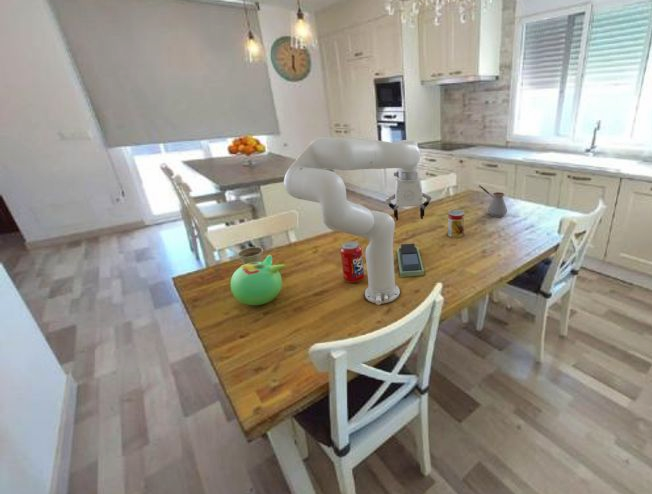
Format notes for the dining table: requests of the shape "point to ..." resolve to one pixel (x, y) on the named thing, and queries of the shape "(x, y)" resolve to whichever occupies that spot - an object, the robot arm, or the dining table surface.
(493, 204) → the coffee pot
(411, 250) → the pad charcoal
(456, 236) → the canned food
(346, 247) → the soda can
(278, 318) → the dining table surface
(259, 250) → the flower pot
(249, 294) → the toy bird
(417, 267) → the pad slate
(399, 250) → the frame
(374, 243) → the robot arm
